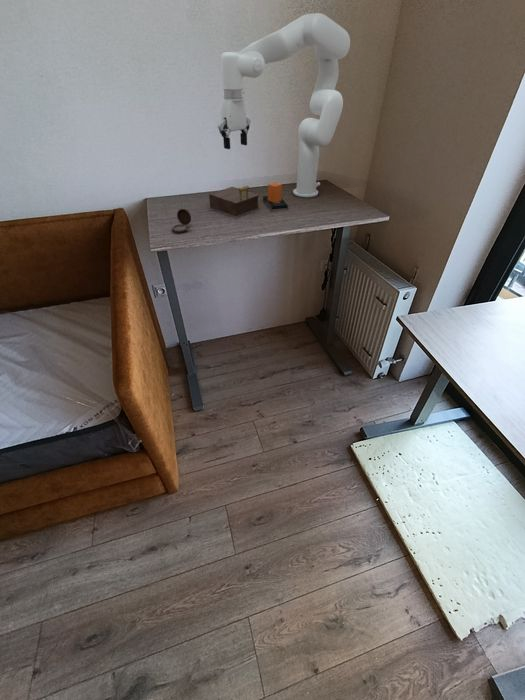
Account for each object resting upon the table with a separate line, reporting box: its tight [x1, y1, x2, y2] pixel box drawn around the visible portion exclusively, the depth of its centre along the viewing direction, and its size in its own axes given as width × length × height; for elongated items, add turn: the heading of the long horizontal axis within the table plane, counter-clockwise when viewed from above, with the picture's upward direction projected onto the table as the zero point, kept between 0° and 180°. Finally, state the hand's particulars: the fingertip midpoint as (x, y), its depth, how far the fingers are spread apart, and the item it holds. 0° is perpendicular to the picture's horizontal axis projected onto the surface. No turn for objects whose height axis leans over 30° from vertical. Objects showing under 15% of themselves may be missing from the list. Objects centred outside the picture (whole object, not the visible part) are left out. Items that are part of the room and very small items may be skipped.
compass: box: [171, 208, 192, 234], centre depth 132 cm, size 8×8×7 cm
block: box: [267, 181, 283, 203], centre depth 153 cm, size 4×4×7 cm
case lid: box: [208, 185, 260, 205], centre depth 147 cm, size 17×14×5 cm
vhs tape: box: [262, 195, 289, 210], centre depth 156 cm, size 8×14×2 cm, turn 16°
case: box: [208, 195, 259, 217], centre depth 150 cm, size 16×14×6 cm
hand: (235, 146), depth 138 cm, fingers open, 9 cm apart
